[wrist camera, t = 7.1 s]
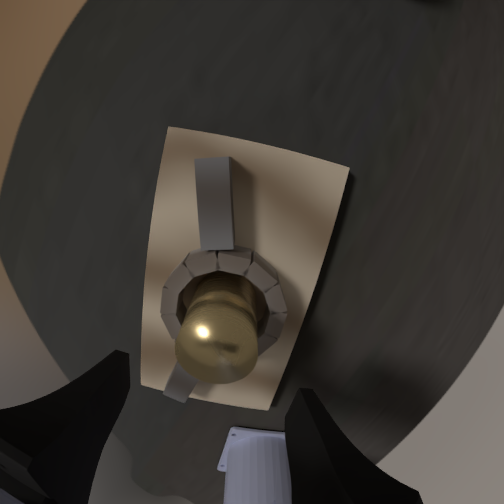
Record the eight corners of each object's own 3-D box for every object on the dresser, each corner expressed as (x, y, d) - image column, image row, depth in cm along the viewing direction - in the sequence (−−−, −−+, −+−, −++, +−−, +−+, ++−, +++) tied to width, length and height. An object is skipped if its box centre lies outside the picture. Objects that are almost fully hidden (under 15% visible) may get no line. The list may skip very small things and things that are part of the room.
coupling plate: (267, 402, 23) (268, 427, 21) (144, 377, 23) (134, 400, 20) (344, 167, 17) (361, 169, 14) (172, 128, 17) (158, 123, 14)
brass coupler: (248, 329, 20) (247, 390, 14) (191, 316, 19) (171, 374, 14) (262, 277, 19) (267, 329, 13) (200, 263, 18) (179, 310, 13)
